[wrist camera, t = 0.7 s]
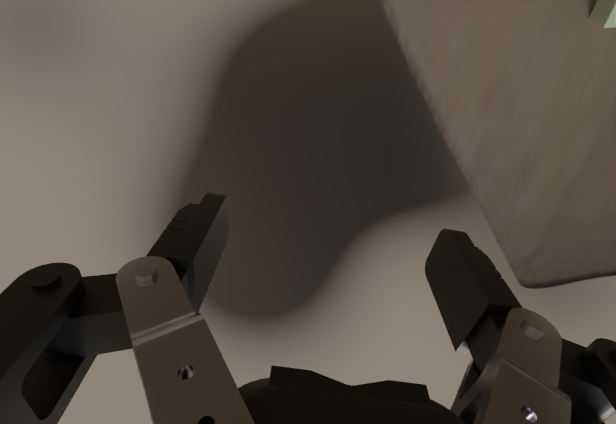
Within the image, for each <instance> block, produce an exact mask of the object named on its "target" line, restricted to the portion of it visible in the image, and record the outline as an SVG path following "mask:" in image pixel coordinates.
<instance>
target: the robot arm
mask: <svg viewBox="0 0 616 424" xmlns="http://www.w3.org/2000/svg"><path fill="white" fill-rule="evenodd" d="M228 230H229V196H228V195H224V194H217V193H211V192H207V193H206V195H205V196H204V198H203V199H202V201H201V202H200V204H192V203H190V204H188V205H187V206H185V207H183V208H182V209H180V210H179V211H178V212H177V214H176V215H175V216H174V218H173V219H172V221H171V222H170V223H169V225H168V226H167V229H165V230H164V232H163V233H162V235H161V236H160V237H159V239H158V240H157V241H156V243H155V244H154V246H153V247H152V248H151V250H150V251H149V253H148V254H147V256H146V257H140V258H137V259H135V260H132V261H130V262H128V263H127V264H125V265H124V266H123V267H122V268H121V269H120V270H119V271H118V273H115V274H108V275H99V276H87V277H82V276H81V274H80V271H79V269H78V268H77V267H76V266H74V265H71V264H68V263H51V264H46V265H41V266H39V267H36V268H34V269H31V270H29V271H27V272H25V273H23V274H22V275H21V276H19V277H18V278H17V279H16V280H15V281H14V282H12V284H10V285H9V286H8V287H7V288H6V289H5V290H4V291H3V292H2V293H1V294H0V424H57V423H58V421H59V420H60V418H61V416H62V415H63V413H64V411H65V410H66V408H67V406H68V404H69V403H70V401H71V399H72V397H73V396H74V394H75V392H76V391H77V389H78V387H79V385H80V383H81V382H82V380H83V378H84V377H85V375H86V373H87V371H88V370H89V368H90V366H91V365H92V363H93V361H94V360H95V358H96V356H97V354H103V353H109V352H114V351H120V350H126V349H132V348H133V351H134V354H135V358H136V362H137V366H138V370H139V373H140V377H141V381H142V385H143V389H144V393H145V396H146V400H147V404H148V408H149V412H150V416H151V419H152V424H605V423H604V421H605V420H606V419H608V418H609V417H611V416H612V415H614V414H615V413H616V342H614V341H611V340H608V339H603V338H599V339H596V340H595V341H593V342H592V343H591V344H590V345H589V346H588V347H587V348H586V347H583V346H581V345H578V344H575V343H573V342H570V341H568V340H565V339H562V338H561V336H560V334H559V332H558V331H557V329H556V328H555V327H554V326H553V325H552V324H551V323H550V322H549V321H547V320H546V319H545V318H544V317H542V316H541V315H539V314H537V313H535V312H533V311H530V310H528V309H525V308H522V306H521V305H520V303H519V302H518V300H517V299H516V297H515V296H514V294H513V293H512V291H511V290H510V288H509V287H508V285H507V284H506V282H505V281H504V280H503V279H501V275H500V273H499V272H498V271H497V270H496V269H495V268H496V267H495V266H494V264H493V263H492V261H491V260H490V259H489V257H488V256H487V255H486V254H484V253H483V252H482V251H481V250H480V249H479V248H478V247H475V246H474V244H473V243H472V241H471V239H470V238H469V236H468V235H467V234H466V233H465V232H462V231H455V230H449V229H443V230H442V231H441V232H440V233H439V235H438V237H437V239H436V242H435V243H434V245H433V248H432V250H431V252H430V254H429V256H428V258H427V260H426V265H425V273H426V277H427V279H428V282H429V285H430V287H431V290H432V292H433V295H434V297H435V300H436V302H437V305H438V308H439V310H440V313H441V315H442V318H443V321H444V323H445V326H446V328H447V331H448V333H449V336H450V339H451V341H452V344H453V346H454V349H455V351H456V352H462V353H469V354H471V355H472V357H473V359H472V360H471V362H470V363H469V365H468V367H467V370H466V372H465V374H464V377H463V379H462V382H461V385H460V387H459V390H458V392H457V395H456V397H455V400H454V402H453V405H452V407H451V409H450V410H449V409H447V408H446V407H444V406H443V405H441V404H439V403H437V402H435V401H433V400H431V399H430V398H429V395H428V390H427V387H426V385H422V384H414V383H406V382H399V381H391V380H387V381H382V382H375V383H368V384H362V385H355V386H350V385H346V384H344V383H341V382H339V381H336V380H333V379H331V378H328V377H326V376H323V375H321V374H318V373H316V372H313V371H310V370H303V369H295V368H287V367H278V366H272V367H271V373H270V378H265V379H260V380H256V381H253V382H250V383H248V384H245V385H243V386H241V387H239V388H237V386H236V384H235V382H234V379H233V377H232V375H231V373H230V371H229V369H228V367H227V365H226V363H225V361H224V359H223V357H222V354H221V352H220V350H219V348H218V346H217V344H216V342H215V340H214V338H213V336H212V334H211V332H210V329H209V327H208V325H207V323H206V321H205V319H204V317H203V316H202V315H201V314H200V313H198V312H199V309H200V306H201V304H202V302H203V299H204V297H205V294H206V292H207V290H208V287H209V284H210V282H211V280H212V277H213V275H214V273H215V270H216V268H217V265H218V263H219V260H220V258H221V255H222V253H223V250H224V248H225V245H226V242H227V238H228Z"/></svg>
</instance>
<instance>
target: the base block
mask: <svg viewBox="0 0 616 424" xmlns="http://www.w3.org/2000/svg"><path fill="white" fill-rule="evenodd" d="M589 19H591V20H592V21H594V22H595V23H596V24H598V25H599V26H601V27H602V28H613V27H616V0H597V2H596V4H595V6H594V8H593V10H592V12H591V15H590V17H589Z"/></svg>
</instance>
